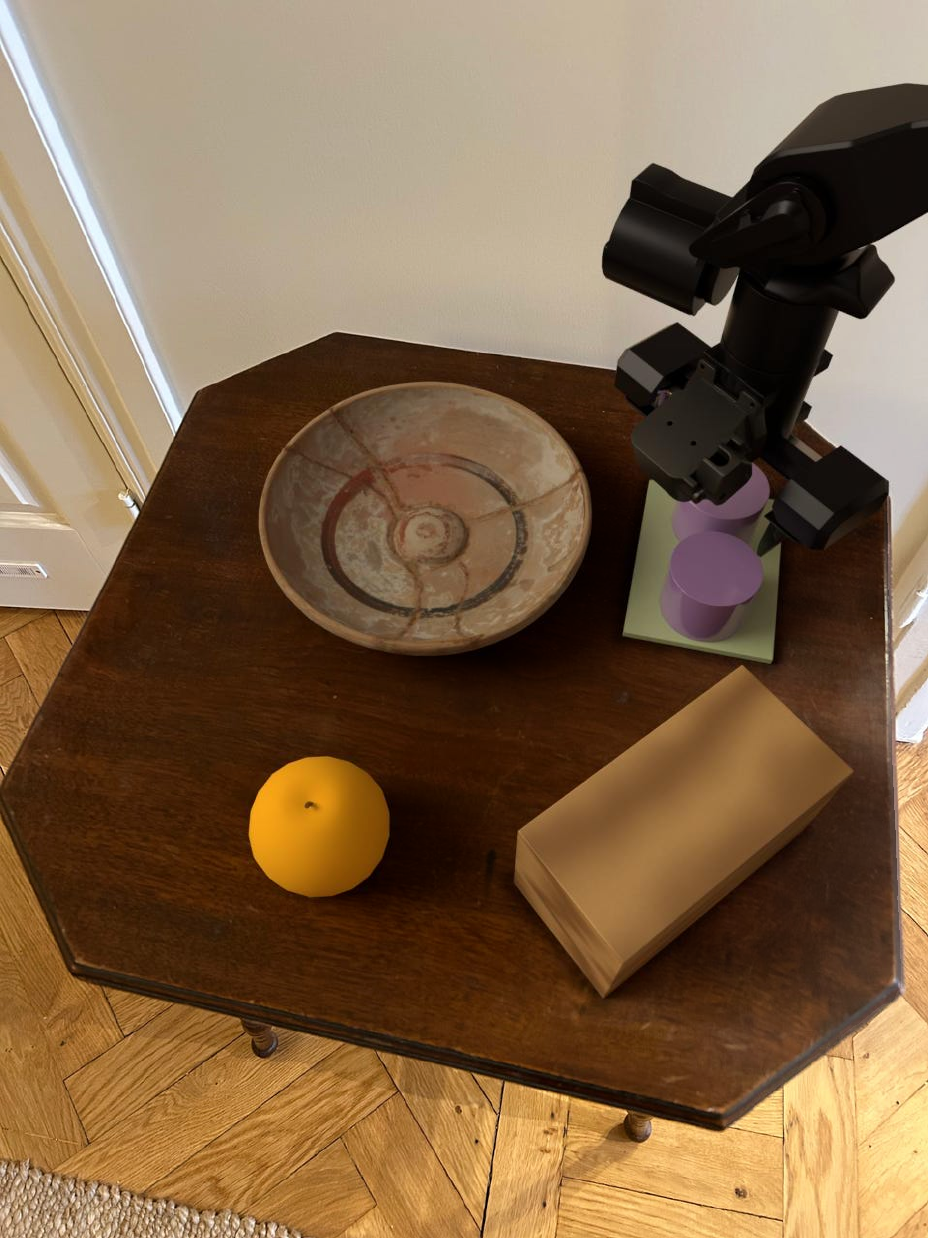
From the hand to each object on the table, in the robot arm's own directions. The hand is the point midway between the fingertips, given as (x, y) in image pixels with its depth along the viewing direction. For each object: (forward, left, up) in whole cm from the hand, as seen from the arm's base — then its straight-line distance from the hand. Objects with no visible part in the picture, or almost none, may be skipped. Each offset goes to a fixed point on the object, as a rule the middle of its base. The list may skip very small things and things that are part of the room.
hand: (715, 512), depth 65 cm
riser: (-16, +20, -2) cm, 25 cm away
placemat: (-2, +3, -2) cm, 4 cm away
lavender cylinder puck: (0, 0, -1) cm, 1 cm away
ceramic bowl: (+12, +17, -2) cm, 21 cm away
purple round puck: (-5, +5, -1) cm, 7 cm away
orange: (-3, +35, -2) cm, 35 cm away
